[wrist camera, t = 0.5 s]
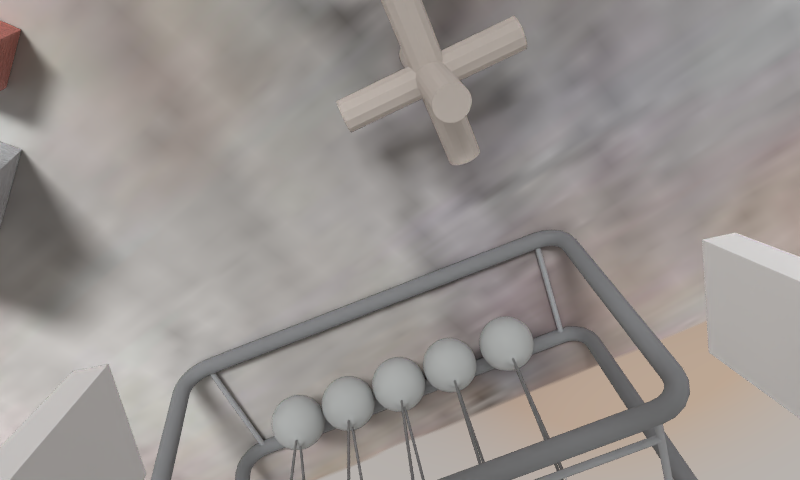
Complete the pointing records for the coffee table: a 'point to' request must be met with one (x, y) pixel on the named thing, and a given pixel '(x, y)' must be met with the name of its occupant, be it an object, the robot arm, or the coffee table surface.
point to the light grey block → (7, 173)
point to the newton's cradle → (459, 380)
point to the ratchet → (7, 50)
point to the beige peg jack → (433, 76)
